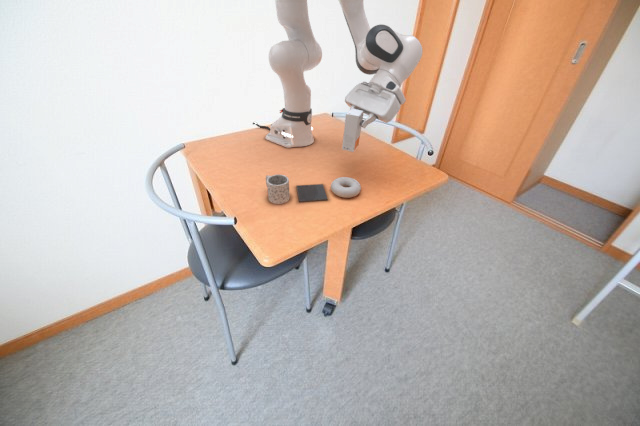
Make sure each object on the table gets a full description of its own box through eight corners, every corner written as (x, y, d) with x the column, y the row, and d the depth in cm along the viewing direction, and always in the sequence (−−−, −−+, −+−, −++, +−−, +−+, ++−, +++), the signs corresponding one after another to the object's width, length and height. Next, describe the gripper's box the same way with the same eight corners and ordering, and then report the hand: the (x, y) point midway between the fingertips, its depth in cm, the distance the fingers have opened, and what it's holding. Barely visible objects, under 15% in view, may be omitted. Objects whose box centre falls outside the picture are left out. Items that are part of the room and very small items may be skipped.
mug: (293, 198, 86) (293, 180, 82) (276, 206, 83) (274, 188, 79) (276, 185, 92) (274, 168, 88) (259, 192, 88) (256, 174, 84)
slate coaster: (322, 185, 93) (322, 184, 93) (327, 200, 86) (327, 198, 86) (296, 187, 92) (296, 185, 91) (299, 202, 85) (299, 200, 84)
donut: (357, 183, 95) (328, 183, 94) (358, 175, 93) (329, 174, 92) (363, 199, 87) (332, 200, 86) (364, 190, 85) (333, 190, 84)
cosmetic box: (353, 152, 89) (358, 116, 81) (341, 149, 90) (345, 113, 82) (359, 145, 93) (364, 110, 86) (347, 142, 94) (351, 107, 87)
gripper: (357, 74, 90) (331, 108, 92) (402, 87, 77) (371, 127, 78) (365, 87, 95) (340, 119, 96) (409, 102, 81) (380, 139, 83)
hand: (355, 123), depth 87 cm, fingers closed on cosmetic box, 5 cm apart
